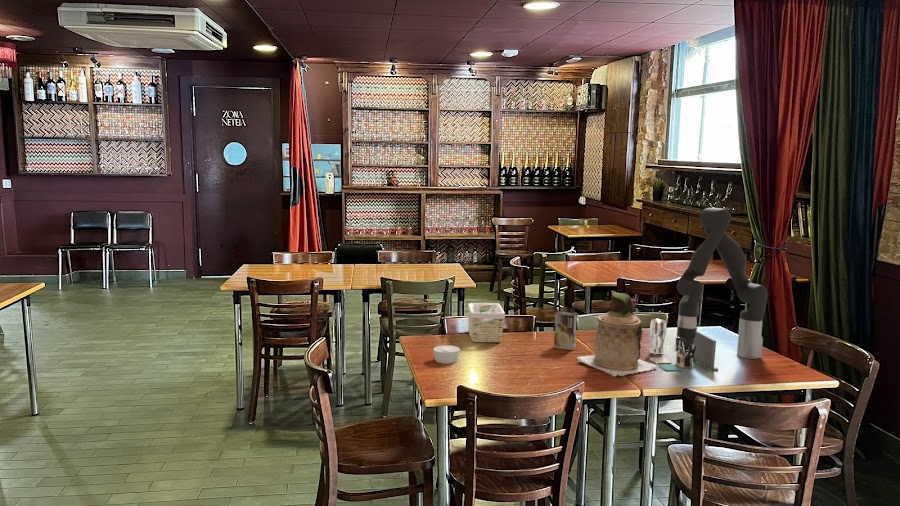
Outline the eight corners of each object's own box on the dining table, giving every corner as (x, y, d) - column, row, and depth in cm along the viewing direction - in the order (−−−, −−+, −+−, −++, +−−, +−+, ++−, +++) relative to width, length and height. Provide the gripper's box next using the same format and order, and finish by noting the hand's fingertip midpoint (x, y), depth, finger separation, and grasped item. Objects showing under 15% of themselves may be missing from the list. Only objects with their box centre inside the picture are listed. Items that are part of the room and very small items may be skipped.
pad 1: (664, 359, 296) (664, 357, 296) (671, 363, 289) (671, 362, 289) (649, 359, 295) (649, 357, 295) (655, 364, 288) (656, 362, 288)
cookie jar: (616, 378, 268) (621, 299, 263) (574, 362, 288) (578, 289, 284) (659, 369, 281) (664, 294, 276) (615, 354, 301) (620, 284, 297)
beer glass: (665, 355, 301) (667, 322, 299) (649, 354, 302) (651, 321, 300) (663, 351, 308) (665, 319, 306) (647, 350, 309) (650, 318, 307)
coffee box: (575, 347, 312) (577, 313, 309) (573, 350, 306) (574, 316, 303) (556, 344, 315) (558, 311, 313) (553, 348, 309) (554, 313, 307)
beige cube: (686, 363, 290) (687, 352, 289) (692, 367, 285) (693, 355, 284) (675, 363, 289) (676, 352, 288) (680, 367, 284) (681, 355, 283)
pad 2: (674, 365, 286) (674, 364, 286) (682, 371, 279) (682, 369, 279) (658, 366, 285) (658, 364, 285) (665, 371, 278) (666, 369, 278)
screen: (699, 359, 296) (701, 330, 294) (717, 370, 280) (720, 340, 279) (688, 359, 296) (690, 330, 294) (706, 371, 280) (709, 340, 278)
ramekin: (429, 362, 283) (429, 350, 282) (438, 355, 293) (439, 343, 292) (454, 366, 279) (454, 353, 278) (463, 358, 289) (463, 346, 288)
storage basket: (466, 330, 337) (467, 301, 335) (498, 331, 338) (499, 302, 336) (470, 343, 314) (470, 312, 312) (504, 343, 314) (505, 313, 312)
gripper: (703, 329, 278) (700, 369, 280) (687, 321, 292) (684, 359, 294) (686, 330, 277) (683, 369, 279) (671, 321, 291) (668, 359, 293)
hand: (683, 364), depth 287 cm, fingers closed on beige cube, 5 cm apart
